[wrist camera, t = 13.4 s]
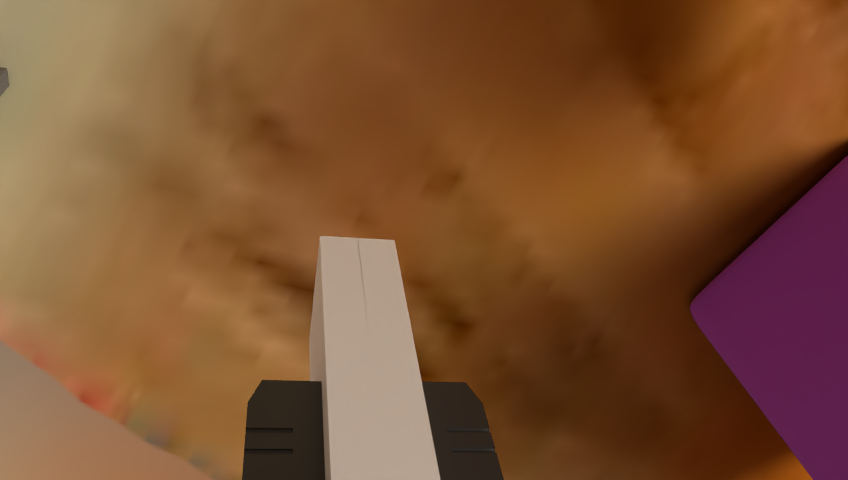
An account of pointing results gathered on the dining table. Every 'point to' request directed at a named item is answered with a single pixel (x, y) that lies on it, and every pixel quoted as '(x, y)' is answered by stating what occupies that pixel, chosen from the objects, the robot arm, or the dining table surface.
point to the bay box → (3, 80)
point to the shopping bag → (792, 324)
